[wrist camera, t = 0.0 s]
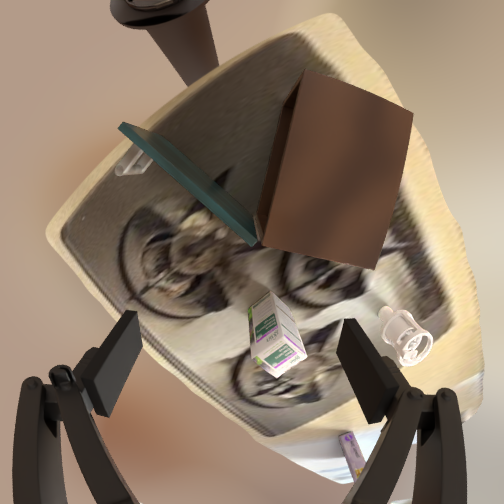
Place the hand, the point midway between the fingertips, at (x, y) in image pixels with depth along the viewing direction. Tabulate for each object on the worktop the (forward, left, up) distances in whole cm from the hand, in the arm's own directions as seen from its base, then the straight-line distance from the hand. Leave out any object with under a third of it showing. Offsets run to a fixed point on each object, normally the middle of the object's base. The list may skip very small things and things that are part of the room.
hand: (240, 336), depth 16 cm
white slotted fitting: (+16, +30, -30) cm, 45 cm away
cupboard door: (-6, -8, -30) cm, 32 cm away
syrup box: (+14, +6, -30) cm, 34 cm away
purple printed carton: (+66, +36, -30) cm, 81 cm away
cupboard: (-10, +11, -30) cm, 34 cm away
